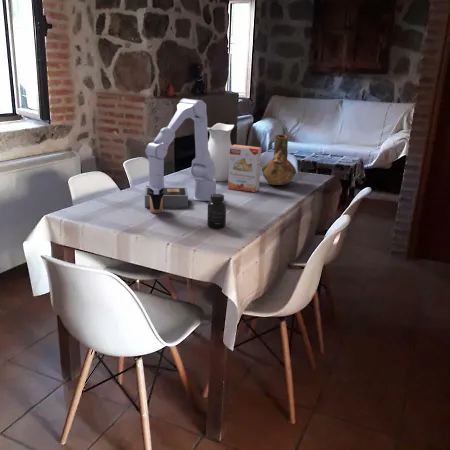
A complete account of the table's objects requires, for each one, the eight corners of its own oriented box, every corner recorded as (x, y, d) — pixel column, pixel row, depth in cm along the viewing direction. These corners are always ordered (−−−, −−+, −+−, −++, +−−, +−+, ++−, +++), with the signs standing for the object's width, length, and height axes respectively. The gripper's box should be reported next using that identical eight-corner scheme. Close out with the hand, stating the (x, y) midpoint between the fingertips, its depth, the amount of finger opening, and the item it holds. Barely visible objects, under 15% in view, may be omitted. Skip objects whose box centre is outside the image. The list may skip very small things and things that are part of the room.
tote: (186, 198, 212) (186, 187, 210) (187, 207, 199) (188, 195, 197) (145, 198, 209) (145, 187, 208) (144, 207, 197) (144, 195, 195)
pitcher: (215, 174, 261) (216, 122, 252) (240, 179, 252) (243, 125, 243) (186, 181, 242) (187, 125, 233) (213, 187, 233) (215, 129, 224)
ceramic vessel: (258, 190, 231) (261, 138, 223) (262, 178, 255) (266, 131, 247) (294, 193, 228) (298, 140, 220) (295, 181, 253) (299, 133, 245)
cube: (178, 199, 207) (178, 188, 205) (179, 203, 202) (179, 191, 201) (167, 199, 206) (167, 188, 205) (167, 203, 202) (167, 191, 200)
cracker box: (227, 189, 230) (229, 145, 224) (232, 186, 236) (233, 143, 229) (255, 193, 226) (258, 148, 219) (259, 190, 231) (262, 146, 224)
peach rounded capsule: (162, 208, 195) (161, 192, 192) (163, 212, 190) (163, 195, 188) (149, 209, 194) (149, 192, 191) (150, 213, 189) (150, 196, 187)
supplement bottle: (206, 223, 180) (207, 192, 177) (224, 223, 181) (226, 192, 177) (207, 229, 174) (208, 197, 170) (226, 229, 175) (227, 197, 171)
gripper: (146, 169, 193) (146, 202, 198) (145, 178, 180) (145, 212, 184) (164, 169, 194) (164, 202, 199) (164, 178, 181) (164, 212, 185)
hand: (156, 207), depth 191 cm, fingers closed on peach rounded capsule, 5 cm apart
